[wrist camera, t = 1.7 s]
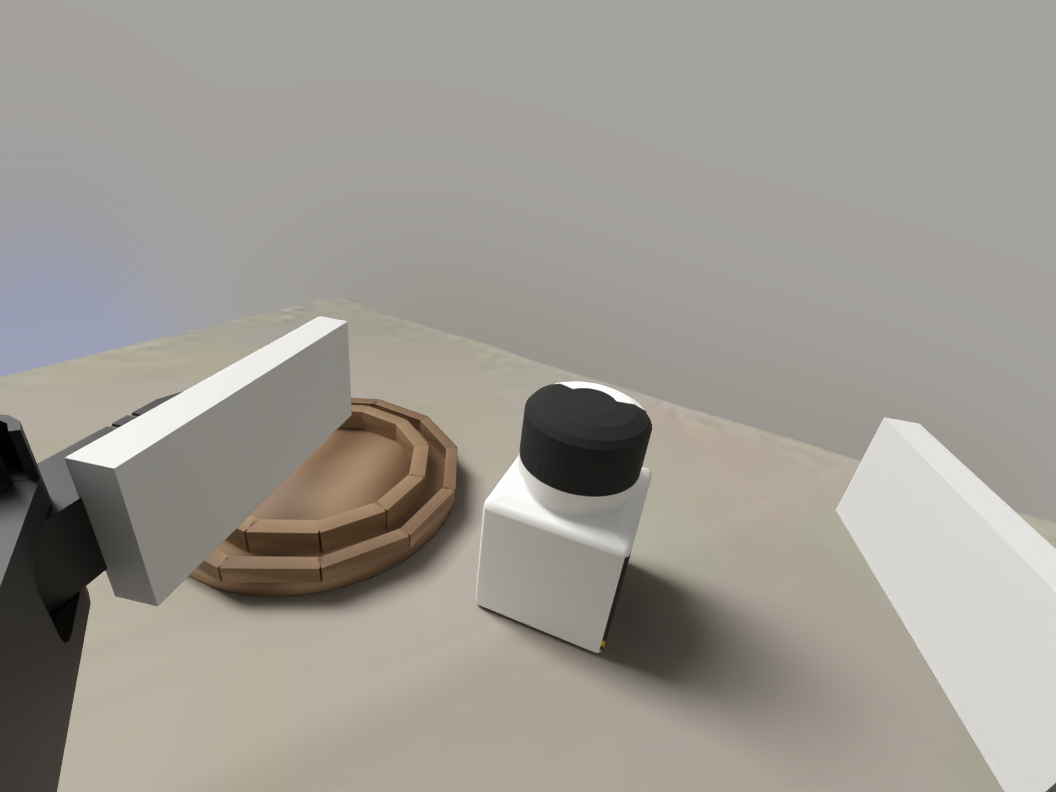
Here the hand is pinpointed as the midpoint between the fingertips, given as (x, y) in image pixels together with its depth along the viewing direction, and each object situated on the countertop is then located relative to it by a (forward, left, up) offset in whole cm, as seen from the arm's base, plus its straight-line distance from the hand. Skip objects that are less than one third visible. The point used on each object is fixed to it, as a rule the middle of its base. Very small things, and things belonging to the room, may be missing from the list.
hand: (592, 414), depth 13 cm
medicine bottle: (-3, -9, -17) cm, 19 cm away
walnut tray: (+12, -17, -17) cm, 27 cm away
